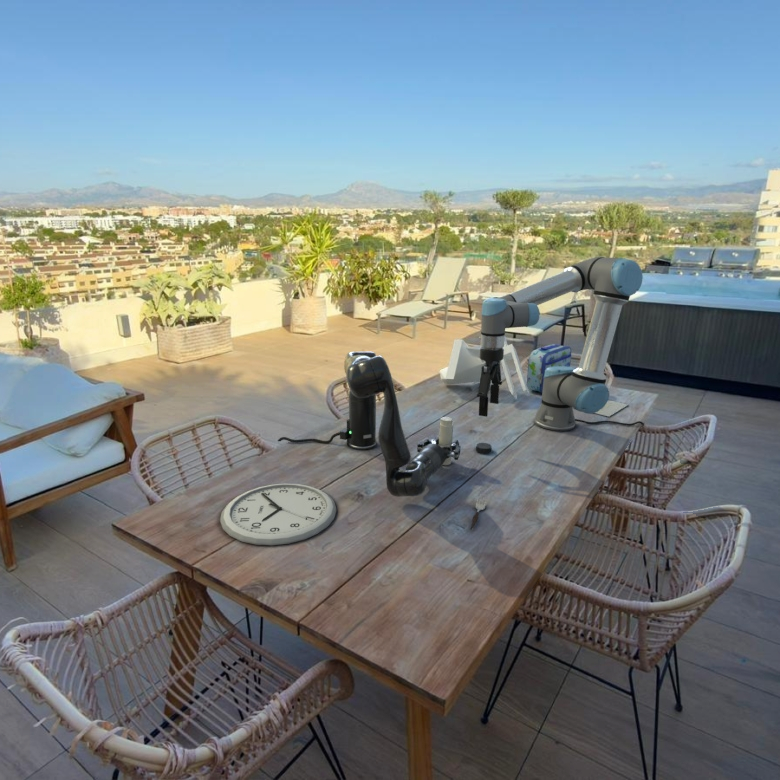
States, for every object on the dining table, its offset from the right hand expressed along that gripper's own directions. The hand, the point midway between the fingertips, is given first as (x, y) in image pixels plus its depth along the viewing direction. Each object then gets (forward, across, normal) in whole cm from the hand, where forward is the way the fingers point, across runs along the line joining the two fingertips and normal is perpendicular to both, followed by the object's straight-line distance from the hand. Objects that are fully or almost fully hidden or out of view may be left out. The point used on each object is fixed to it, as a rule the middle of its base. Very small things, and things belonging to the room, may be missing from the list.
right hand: (488, 409), depth 175 cm
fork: (+14, +43, +10) cm, 47 cm away
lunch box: (+17, -84, +6) cm, 86 cm away
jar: (+15, +16, -10) cm, 23 cm away
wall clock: (+13, +66, -38) cm, 77 cm away
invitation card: (+17, -69, +31) cm, 78 cm away
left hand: (+8, +13, -10) cm, 18 cm away
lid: (+13, +1, -1) cm, 13 cm away
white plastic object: (+16, -63, -21) cm, 69 cm away
